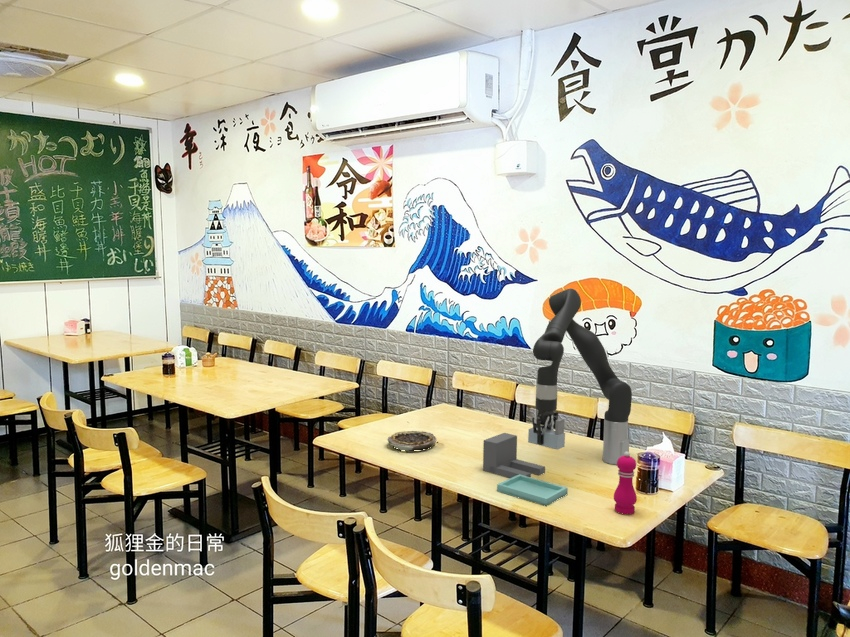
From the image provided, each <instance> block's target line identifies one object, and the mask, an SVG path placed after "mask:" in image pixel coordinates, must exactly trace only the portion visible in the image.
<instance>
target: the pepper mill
mask: <svg viewBox="0 0 850 637" xmlns="http://www.w3.org/2000/svg"><path fill="white" fill-rule="evenodd" d="M630 455H631V453H630V451H629V452H625V453H624V456H621V457H620V458H619V459H618V460H617V465H616V467H617V468H618V470H617V471H618V473H617V474H618V476H619V478H618V479H619V480H618V485H617V486H616V488H615V490H614V493H613V500H614V502H615V504H614V511H615V510H616V511H617V512H616V511H615V512H616V513H618V512H619V513H618V514H620V513H623V514H622V515H625V514H630V515H633V514H635V511H636V510H635V508H636V507H635V504H636V503H637V499H638V498H637V497H638V496H637V493H636V491H635V488H634V483H633V477H634V476H635V471H634V470H635V469H636V468H637V462H636V459H635V458H633V457H632V456H630ZM632 513H633V514H632Z"/></svg>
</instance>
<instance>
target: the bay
mask: <svg viewBox="0 0 850 637" xmlns="http://www.w3.org/2000/svg"><path fill="white" fill-rule="evenodd" d="M482 448H483V450H482V452H483V453H482V454H483V458H482V461H483V462H482V471H483V472H486V471H487V473H491V474H494V475H497V476H500V475H501V477H504V478H508V479H510V478H512V477H514V476H517V475H519V474H520V475H524V476H527V477H531V478H532V473H533V475H536V474H537V475H536V476H539V475H540V476H541V474H542V475H544V474H546V466H545V465H541V464H537V463H533V462H529V461H525V460H522V459H518V457H517V456H518V455H517V453H518V452H517V450H518V449H517V448H518V435H516V434H512V433H507V432H503V433H500V434H497V435H494V436H491V437H489V438H486V439H483V447H482ZM543 473H544V474H543Z"/></svg>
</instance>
